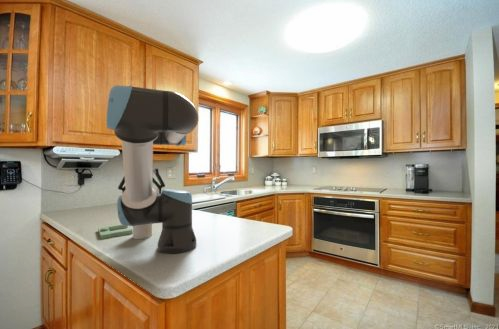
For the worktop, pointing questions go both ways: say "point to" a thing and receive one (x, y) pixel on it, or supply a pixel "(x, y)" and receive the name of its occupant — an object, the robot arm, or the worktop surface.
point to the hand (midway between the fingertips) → (142, 203)
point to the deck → (106, 233)
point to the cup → (142, 231)
